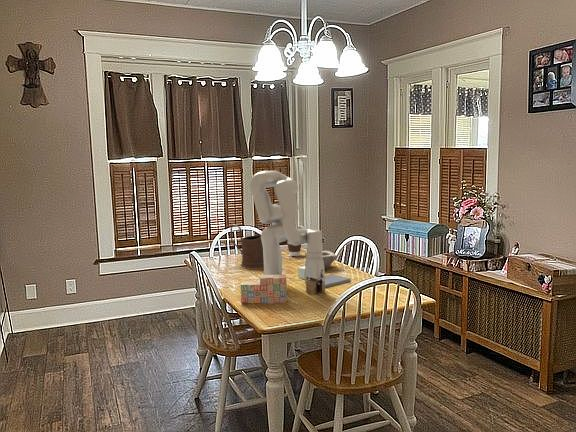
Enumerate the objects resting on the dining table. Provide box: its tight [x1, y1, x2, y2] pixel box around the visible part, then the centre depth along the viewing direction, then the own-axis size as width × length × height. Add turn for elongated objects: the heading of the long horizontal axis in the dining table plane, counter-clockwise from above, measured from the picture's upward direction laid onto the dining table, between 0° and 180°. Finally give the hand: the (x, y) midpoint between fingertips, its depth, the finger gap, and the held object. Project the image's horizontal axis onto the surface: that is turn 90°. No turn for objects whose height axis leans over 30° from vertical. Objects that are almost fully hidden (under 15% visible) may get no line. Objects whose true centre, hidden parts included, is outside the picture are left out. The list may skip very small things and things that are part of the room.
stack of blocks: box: [240, 274, 288, 304], centre depth 246 cm, size 21×6×12 cm, turn 90°
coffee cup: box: [285, 240, 302, 257], centre depth 349 cm, size 11×11×12 cm
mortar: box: [304, 250, 338, 270], centre depth 312 cm, size 17×17×9 cm
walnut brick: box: [305, 279, 326, 295], centre depth 261 cm, size 8×5×6 cm, turn 129°
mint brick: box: [297, 265, 308, 280], centre depth 290 cm, size 8×5×6 cm, turn 129°
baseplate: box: [304, 273, 352, 289], centre depth 279 cm, size 20×14×2 cm
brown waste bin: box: [230, 224, 264, 269], centre depth 323 cm, size 18×24×25 cm
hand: (315, 290), depth 261 cm, fingers closed on walnut brick, 5 cm apart
